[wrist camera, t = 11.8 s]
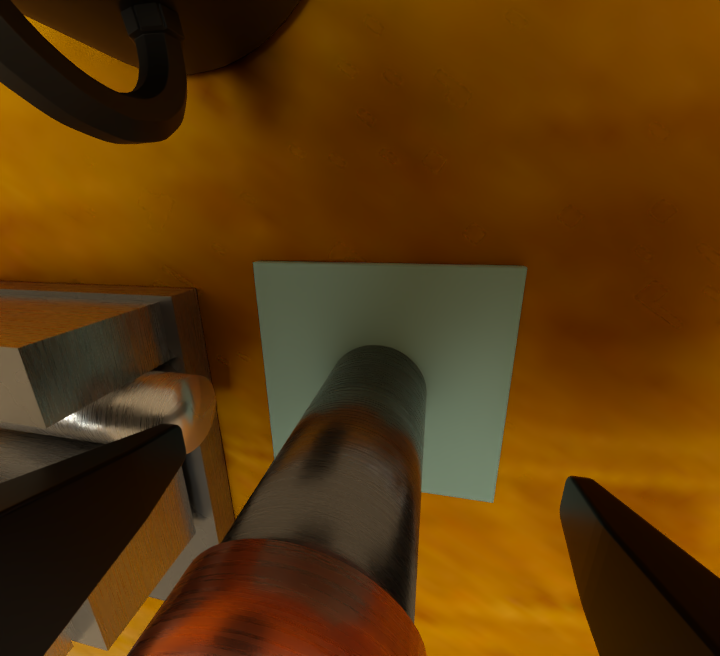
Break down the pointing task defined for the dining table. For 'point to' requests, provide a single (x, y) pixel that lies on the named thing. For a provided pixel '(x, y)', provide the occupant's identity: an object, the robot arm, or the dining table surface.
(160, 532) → the bracket
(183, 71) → the mug
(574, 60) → the dining table surface
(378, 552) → the round metal peg
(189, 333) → the clamp base
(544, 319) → the dining table surface
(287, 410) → the mat
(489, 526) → the dining table surface
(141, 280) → the dining table surface
